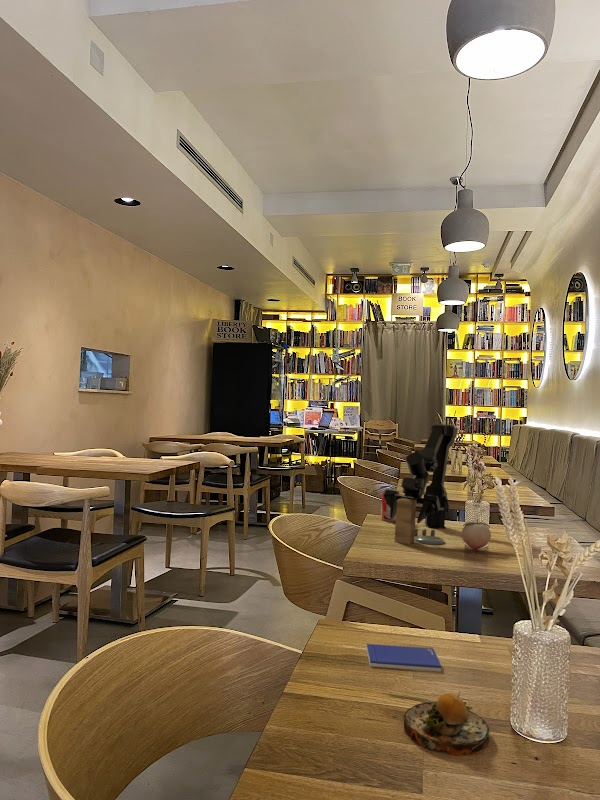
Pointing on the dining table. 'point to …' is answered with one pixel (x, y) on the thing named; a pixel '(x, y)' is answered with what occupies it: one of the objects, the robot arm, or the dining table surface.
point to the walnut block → (405, 521)
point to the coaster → (428, 540)
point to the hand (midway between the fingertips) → (404, 520)
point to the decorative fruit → (476, 534)
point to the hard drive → (403, 657)
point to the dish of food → (447, 726)
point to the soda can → (387, 509)
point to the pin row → (424, 532)
